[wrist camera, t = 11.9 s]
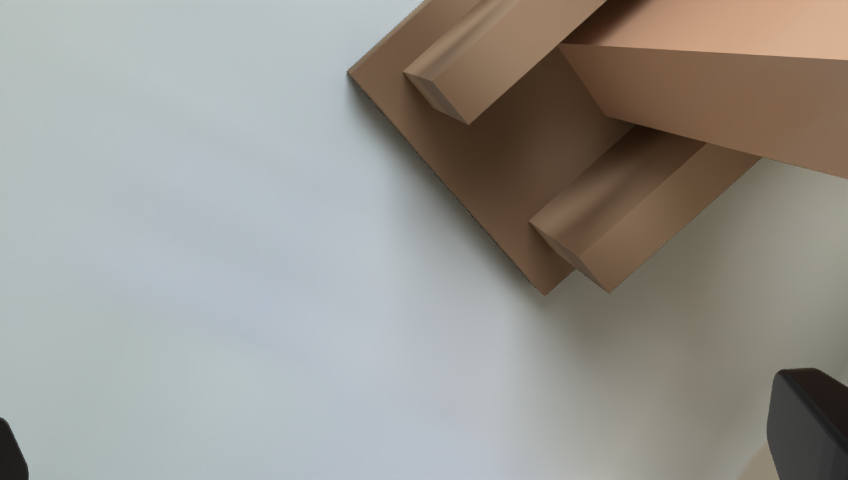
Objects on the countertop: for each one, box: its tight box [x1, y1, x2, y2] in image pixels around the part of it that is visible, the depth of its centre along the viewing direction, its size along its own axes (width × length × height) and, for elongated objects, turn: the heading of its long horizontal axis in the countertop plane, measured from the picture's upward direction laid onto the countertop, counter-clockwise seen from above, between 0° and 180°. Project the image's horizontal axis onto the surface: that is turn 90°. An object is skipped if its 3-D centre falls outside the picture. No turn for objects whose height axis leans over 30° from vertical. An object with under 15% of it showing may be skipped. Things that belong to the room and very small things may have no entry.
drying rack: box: [347, 0, 762, 296], centre depth 18 cm, size 14×8×8 cm, turn 131°
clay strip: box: [557, 0, 848, 179], centre depth 14 cm, size 5×2×13 cm, turn 129°
